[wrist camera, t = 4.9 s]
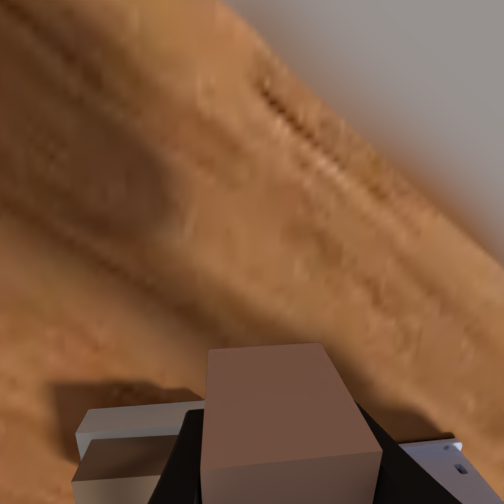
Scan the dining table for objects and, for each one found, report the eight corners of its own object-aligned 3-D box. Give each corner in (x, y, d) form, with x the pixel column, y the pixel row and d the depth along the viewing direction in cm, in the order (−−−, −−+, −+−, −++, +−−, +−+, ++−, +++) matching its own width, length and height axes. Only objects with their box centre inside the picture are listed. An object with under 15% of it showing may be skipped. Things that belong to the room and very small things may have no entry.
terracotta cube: (320, 342, 10) (382, 450, 6) (312, 427, 11) (360, 563, 7) (208, 349, 9) (200, 470, 6) (212, 437, 11) (207, 586, 7)
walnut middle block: (195, 433, 18) (191, 472, 16) (195, 502, 20) (191, 546, 18) (91, 439, 18) (71, 481, 15) (101, 510, 19) (84, 558, 17)
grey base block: (205, 393, 21) (203, 422, 18) (209, 471, 23) (207, 506, 20) (92, 401, 20) (75, 433, 17) (108, 481, 22) (94, 519, 20)
